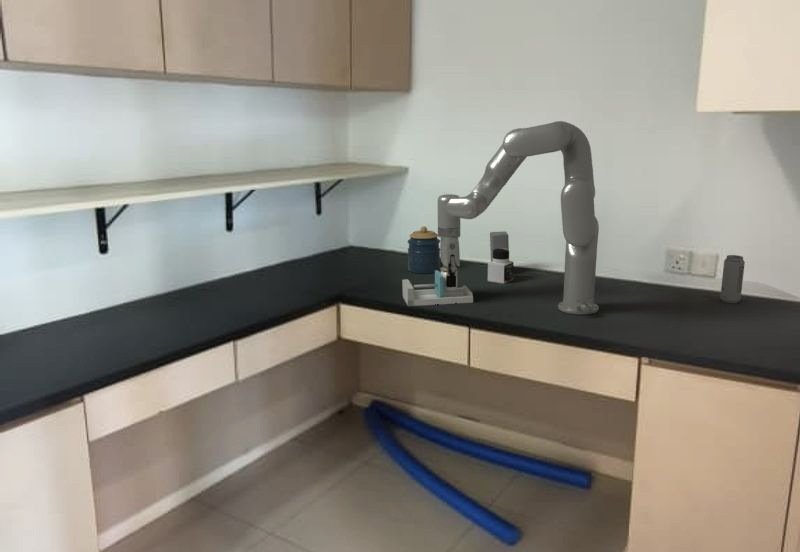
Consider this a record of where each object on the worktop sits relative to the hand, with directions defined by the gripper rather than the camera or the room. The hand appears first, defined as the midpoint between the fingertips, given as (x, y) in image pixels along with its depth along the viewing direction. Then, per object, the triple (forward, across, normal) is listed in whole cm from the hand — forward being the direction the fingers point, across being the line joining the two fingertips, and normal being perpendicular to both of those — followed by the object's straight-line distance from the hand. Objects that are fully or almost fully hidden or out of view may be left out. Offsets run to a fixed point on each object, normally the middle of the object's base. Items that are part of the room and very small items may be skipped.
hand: (449, 284), depth 233 cm
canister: (+5, +42, +1) cm, 42 cm away
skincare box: (+6, +32, -27) cm, 42 cm away
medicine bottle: (+6, +20, -24) cm, 32 cm away
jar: (+2, 0, 0) cm, 2 cm away
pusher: (+4, 0, +7) cm, 9 cm away
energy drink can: (+6, -21, -90) cm, 92 cm away
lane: (+5, 0, +4) cm, 7 cm away
